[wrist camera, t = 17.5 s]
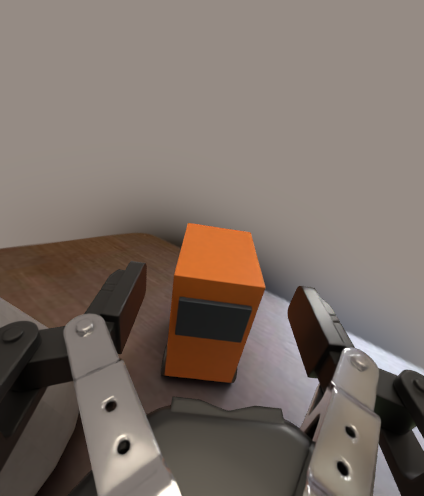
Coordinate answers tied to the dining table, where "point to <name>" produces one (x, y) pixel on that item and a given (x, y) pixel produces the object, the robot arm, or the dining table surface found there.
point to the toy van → (212, 303)
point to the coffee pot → (38, 429)
